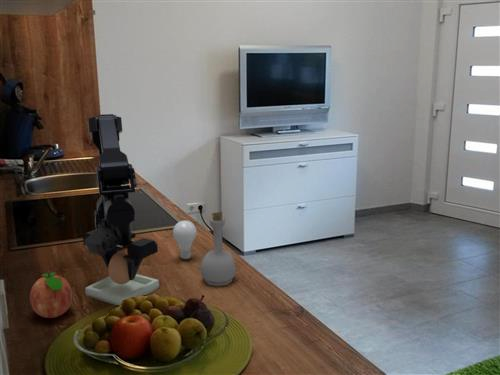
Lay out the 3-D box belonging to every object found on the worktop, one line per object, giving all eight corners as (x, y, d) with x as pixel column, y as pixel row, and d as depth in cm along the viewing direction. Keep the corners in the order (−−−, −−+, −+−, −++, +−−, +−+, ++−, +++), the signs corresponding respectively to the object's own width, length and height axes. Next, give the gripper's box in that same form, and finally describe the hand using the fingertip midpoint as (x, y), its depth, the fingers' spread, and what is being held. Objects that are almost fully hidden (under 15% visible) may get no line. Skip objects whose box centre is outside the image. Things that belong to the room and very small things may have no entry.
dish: (85, 295, 123) (85, 287, 122) (122, 277, 133) (122, 270, 132) (123, 307, 117) (122, 299, 116) (159, 287, 127) (158, 280, 126)
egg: (104, 286, 123) (101, 255, 121) (118, 276, 128) (116, 246, 126) (126, 290, 121) (124, 258, 119) (140, 280, 126) (138, 249, 124)
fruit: (32, 328, 108) (27, 283, 106) (31, 308, 117) (26, 266, 114) (76, 319, 112) (72, 276, 109) (71, 301, 120) (67, 260, 118)
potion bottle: (210, 290, 125) (207, 218, 121) (196, 277, 133) (193, 208, 128) (242, 283, 129) (241, 213, 125) (227, 270, 137) (226, 204, 132)
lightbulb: (193, 264, 141) (191, 225, 138) (170, 262, 142) (169, 223, 140) (200, 255, 147) (198, 218, 144) (178, 254, 148) (177, 216, 146)
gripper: (61, 216, 118) (67, 280, 122) (121, 230, 109) (126, 299, 113) (98, 205, 128) (103, 264, 131) (157, 216, 118) (160, 280, 122)
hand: (122, 277), depth 124 cm, fingers closed on egg, 6 cm apart
